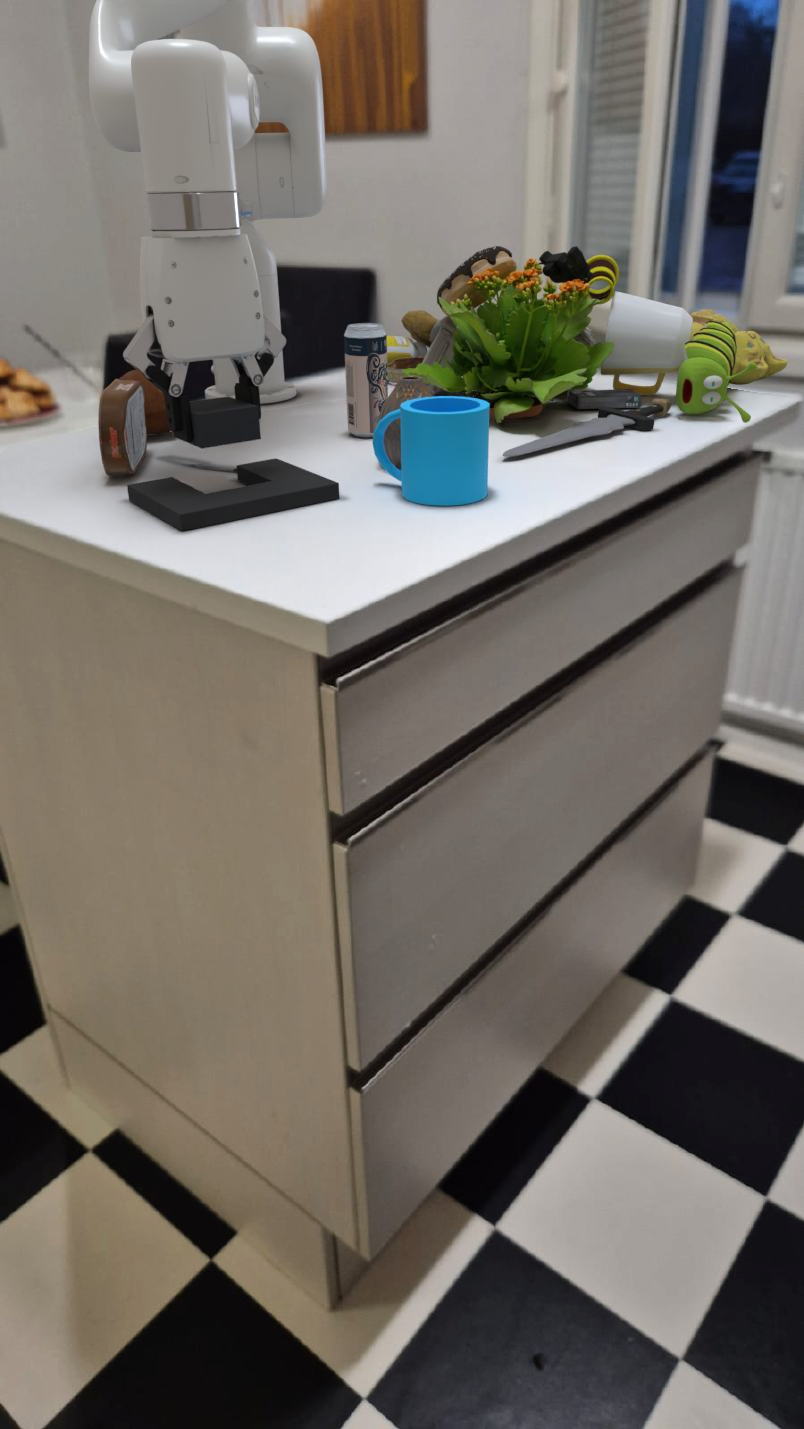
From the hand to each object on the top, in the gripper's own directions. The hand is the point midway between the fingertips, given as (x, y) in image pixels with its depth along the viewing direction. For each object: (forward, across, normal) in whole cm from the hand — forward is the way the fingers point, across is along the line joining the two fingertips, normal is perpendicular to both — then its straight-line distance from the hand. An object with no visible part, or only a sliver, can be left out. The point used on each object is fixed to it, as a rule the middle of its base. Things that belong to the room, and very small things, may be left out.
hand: (216, 432), depth 92 cm
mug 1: (+6, -16, +11) cm, 20 cm away
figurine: (+1, -81, -15) cm, 83 cm away
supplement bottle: (+2, -46, -45) cm, 64 cm away
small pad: (+1, 0, 0) cm, 1 cm away
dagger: (+4, -58, -3) cm, 58 cm away
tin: (+6, +3, -16) cm, 17 cm away
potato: (+6, -5, -28) cm, 29 cm away
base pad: (+6, 0, +2) cm, 6 cm away
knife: (+6, -5, -10) cm, 13 cm away
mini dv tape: (+5, -56, -4) cm, 57 cm away
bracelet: (+6, -50, -37) cm, 62 cm away
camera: (+4, -48, -30) cm, 57 cm away
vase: (+6, -21, +2) cm, 22 cm away
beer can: (+6, -25, -12) cm, 29 cm away
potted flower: (+6, -45, -12) cm, 47 cm away
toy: (0, -69, -3) cm, 69 cm away
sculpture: (0, -56, -37) cm, 67 cm away
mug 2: (0, -69, -3) cm, 69 cm away
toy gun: (-12, -52, -13) cm, 55 cm away
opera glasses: (-8, -56, -13) cm, 59 cm away
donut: (-7, -48, -19) cm, 52 cm away
